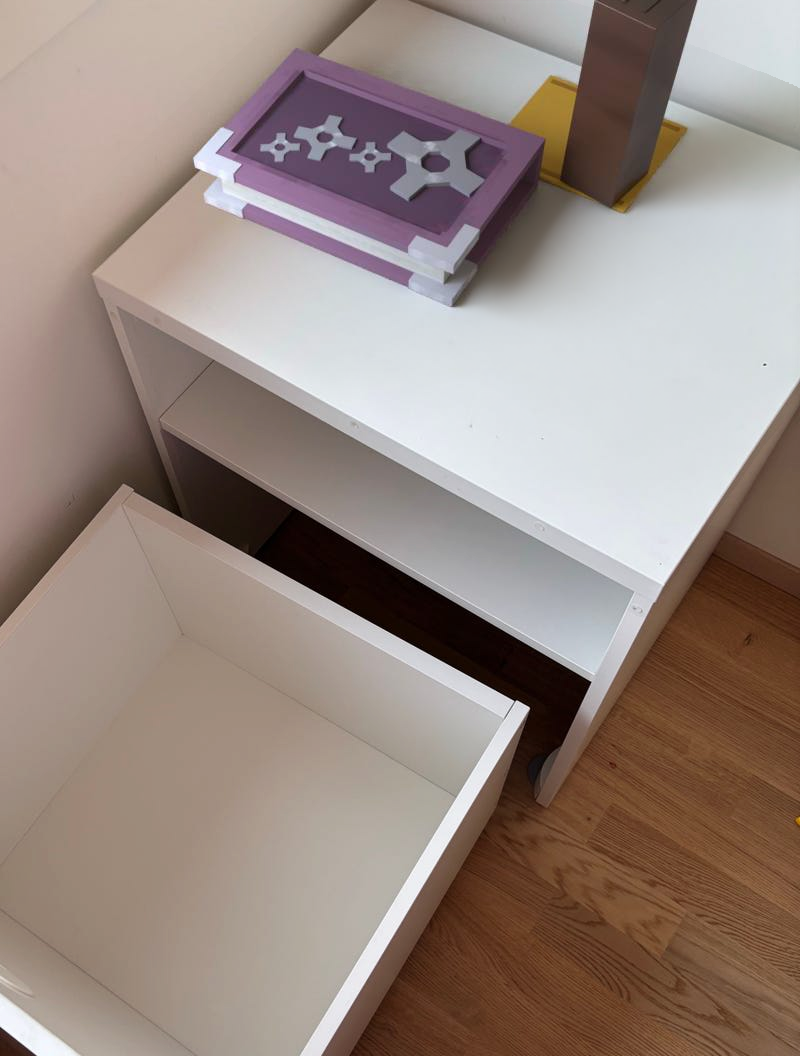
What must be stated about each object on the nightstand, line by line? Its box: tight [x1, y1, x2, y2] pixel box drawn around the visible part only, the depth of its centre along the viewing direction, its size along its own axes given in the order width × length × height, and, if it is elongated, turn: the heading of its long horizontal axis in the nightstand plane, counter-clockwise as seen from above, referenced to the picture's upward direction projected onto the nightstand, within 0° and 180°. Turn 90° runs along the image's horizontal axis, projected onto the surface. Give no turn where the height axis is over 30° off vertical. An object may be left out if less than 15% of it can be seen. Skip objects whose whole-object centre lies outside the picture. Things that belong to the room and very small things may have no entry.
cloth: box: [508, 74, 688, 214], centre depth 90 cm, size 14×12×1 cm
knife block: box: [560, 0, 698, 209], centre depth 81 cm, size 6×6×16 cm
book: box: [192, 47, 546, 308], centre depth 87 cm, size 25×16×5 cm, turn 58°
